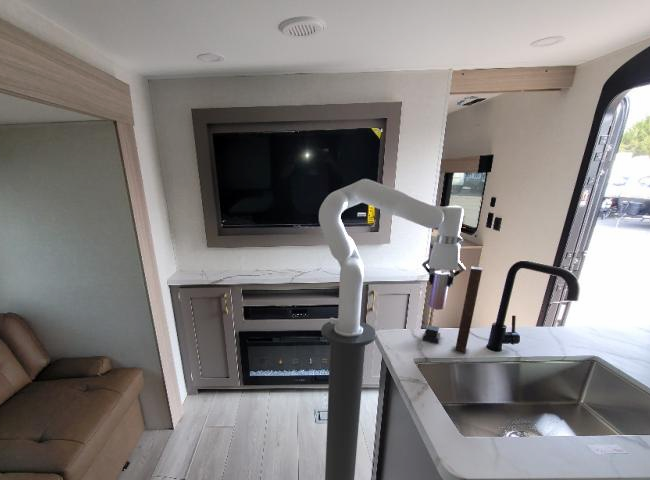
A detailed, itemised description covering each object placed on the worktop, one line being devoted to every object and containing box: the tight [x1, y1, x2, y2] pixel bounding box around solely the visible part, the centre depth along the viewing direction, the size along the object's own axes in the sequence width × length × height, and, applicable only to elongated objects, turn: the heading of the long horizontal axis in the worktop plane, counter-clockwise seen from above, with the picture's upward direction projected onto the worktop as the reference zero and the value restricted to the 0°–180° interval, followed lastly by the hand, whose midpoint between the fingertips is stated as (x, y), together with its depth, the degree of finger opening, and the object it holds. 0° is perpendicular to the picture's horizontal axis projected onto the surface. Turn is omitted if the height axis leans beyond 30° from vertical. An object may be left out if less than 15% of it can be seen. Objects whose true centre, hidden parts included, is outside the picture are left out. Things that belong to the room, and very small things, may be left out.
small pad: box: [425, 324, 440, 337], centre depth 137 cm, size 4×4×3 cm
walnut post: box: [454, 265, 484, 354], centre depth 124 cm, size 4×4×34 cm
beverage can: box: [428, 270, 451, 311], centre depth 131 cm, size 6×6×15 cm
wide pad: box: [422, 329, 441, 345], centre depth 138 cm, size 6×6×2 cm
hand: (440, 284), depth 130 cm, fingers closed on beverage can, 6 cm apart
